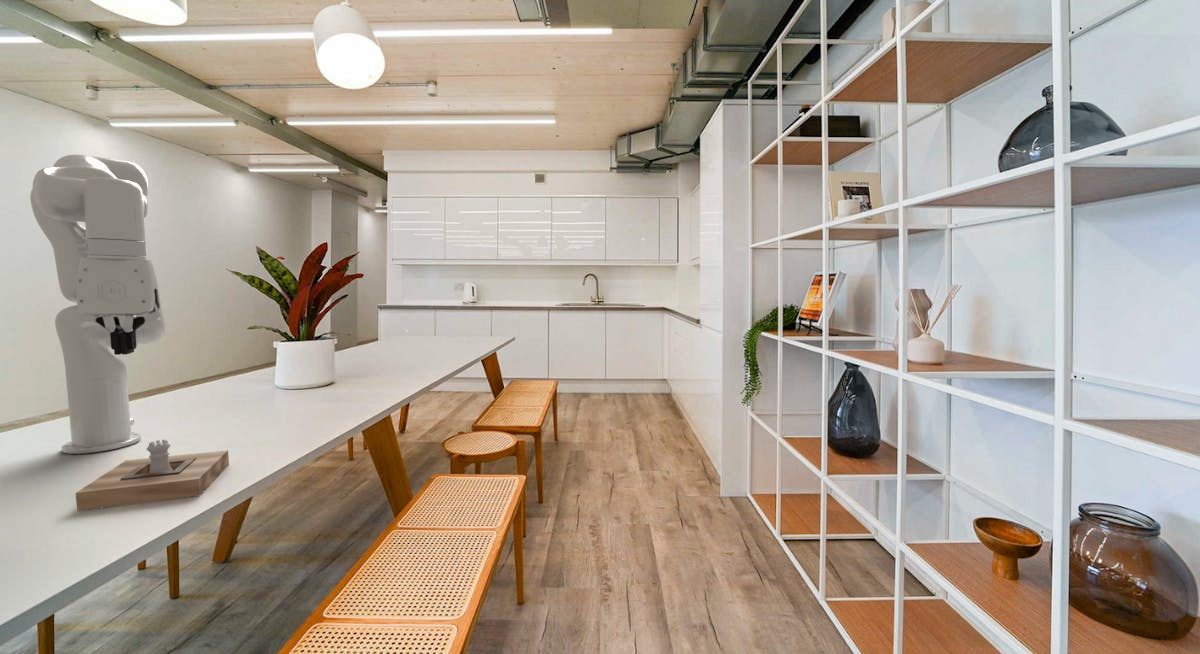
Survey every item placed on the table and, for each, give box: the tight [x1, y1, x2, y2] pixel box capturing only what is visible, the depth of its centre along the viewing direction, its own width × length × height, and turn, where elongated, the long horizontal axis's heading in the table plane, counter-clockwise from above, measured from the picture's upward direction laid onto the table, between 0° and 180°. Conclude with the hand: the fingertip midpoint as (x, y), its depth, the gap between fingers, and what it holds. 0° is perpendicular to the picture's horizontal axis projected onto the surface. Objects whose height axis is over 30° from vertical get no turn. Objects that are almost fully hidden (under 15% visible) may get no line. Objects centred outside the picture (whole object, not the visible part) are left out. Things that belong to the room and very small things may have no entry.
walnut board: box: [75, 449, 230, 512], centre depth 90 cm, size 16×16×3 cm
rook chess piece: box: [146, 439, 173, 473], centre depth 90 cm, size 4×4×8 cm
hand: (124, 353), depth 91 cm, fingers closed
